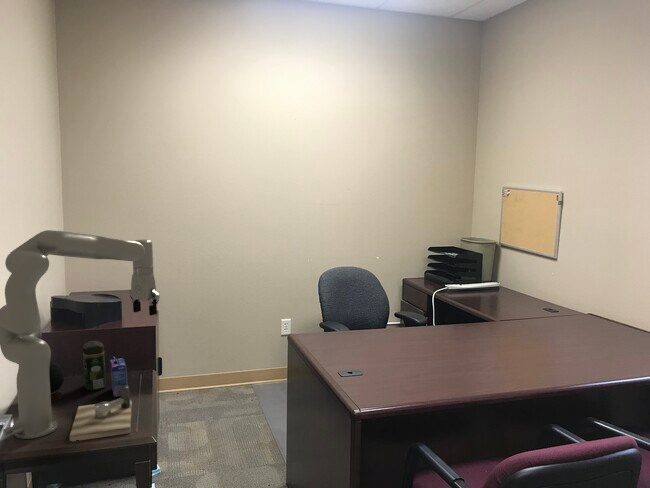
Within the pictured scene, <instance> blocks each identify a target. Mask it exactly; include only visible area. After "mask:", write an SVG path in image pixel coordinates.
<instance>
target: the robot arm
mask: <svg viewBox="0 0 650 488" xmlns="http://www.w3.org/2000/svg"><path fill="white" fill-rule="evenodd" d="M153 254H154V252H153V242H152V240H151V239H136V240H135V239H134V240H126V239H125V240H123V239H118V238H111V237H106V236H102V235H101V236H100V235H94V234H85V233H80V232H73V231H72V232H71V231H61V230H52V229H51V230H50V229H46V230H43V231H39V233H37V234H35V235H34V236H32V237H31V238H29V239H28V240H26V241H24V242H23V243H22V244H21V245H19V246H17V247H16V248H15V249H13V250H12V251H10V252H9V254H7V256H6V258H5V261H4V262H5V267H6V269H7V271H8V272H9V273H10V276H9V277H8V279H7V281H6V282H5V286H4V299H5V305H3V306H2V307H0V351H1V354H2V356H3V357H4V358H5V359H6V360H7V361H9V362H10V363H11V362H12V363H14V364H17V365H18V368H17V369H18V370H17V374H16V392H17V394H16V396H17V409H18V420H16V421H15V423H14V424H13V425H12V426H9V427H6V428H3V430H2V431H3V432H2V433H3V435H4V436H7V435H10V434H11V435H13V436H14V437H16V438H18V439H22V440H26V439H27V440H29V439H31V440H32V439H37V438H41V437H44V436H47V435H50V434H51V433H53V432H55V431H56V429H58V427H59V426H58V421H57V420H55V419H53V413H52V411H53V410H52V404H51V393H50V377H49V366H50V361H51V357H52V350H51V347H50V345H49V343H47V342H46V340H43V339H41V338H40V337H37V336H32V335H34V334H35V333H37V332H38V331H39V329H40V328H41V325H42V324H41V322H42V321H41V315H40V310H39V305H38V301H37V300H38V299H37V294H36V293H37V292H36V291H37V290H36V288H37V286H38V285H37V284H38V282H39V281H40V280H41V279H42V278H43V276H44V275H45V274H46V273H47V271H48V269H49V267H50V260H49V258H48V256H58V257H67V258H68V257H69V258H81V259H89V260H90V259H92V260H113V261H124V262H132V276H131V281H130V284H131V285H130V290H128V293H129V295H130V299H131V302H132V311H133V313H139V312H141V311H142V309H141V306H142V305H141V304H142V303H141V301H144V302H146V301H147V302H148V303H149V305H148V314H149V316H154V315H155V316H156V315H157V313H158V311H157V310H158V309H157V308H158V307H157V305H158V304H159V303H158V302H159V301H160V297H161V295H160V293H159V292H157V285H156V280H155V274H154V257H153V256H154V255H153Z"/></svg>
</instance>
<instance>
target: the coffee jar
mask: <svg viewBox="0 0 650 488" xmlns="http://www.w3.org/2000/svg"><path fill="white" fill-rule="evenodd" d="M104 348H105V346H104V343H103V342H101V341H99V340H89V341H87V342H86V343H84V344H83V346H82V363H83V374H84V375H83V376H84V377H83V378H84V379H83V381H84V388H85V389H86V390H87V391H98V390H100V389H104V388H106V385H107V381H106V379H107V376H106V362H105V349H104Z"/></svg>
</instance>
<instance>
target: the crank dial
mask: <svg viewBox="0 0 650 488" xmlns="http://www.w3.org/2000/svg"><path fill="white" fill-rule="evenodd" d="M127 385H128V384H127ZM127 385H125V386H121V387H120V393H121V396H120V397H119V398H117V399H113V400H111V401H107V400H106V401H99V402H97V403H94V404H95V418H98V419H102V418H107V417H109V416H110V415H111V408H112V407H115V406H117V405H120V404H121V407H123V408H125V407H129V406H130V400H131V398H130V396H131V394H130V385H128V386H127Z"/></svg>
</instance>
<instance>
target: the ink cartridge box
mask: <svg viewBox="0 0 650 488" xmlns="http://www.w3.org/2000/svg"><path fill="white" fill-rule="evenodd" d="M112 358H113V359H110V360H109V365H110V377H111V389H112V394H113V397H115V398H116V397H121V393H120V387H121V386H125V385H127V386H129V385H128V375H127V364H126V362H125V359H124V358H123V357H121V358H116V356H112Z"/></svg>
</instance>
